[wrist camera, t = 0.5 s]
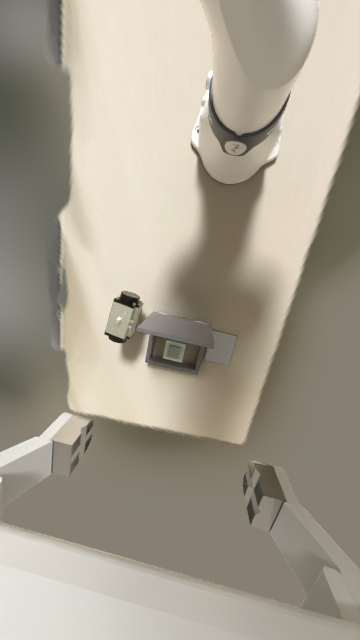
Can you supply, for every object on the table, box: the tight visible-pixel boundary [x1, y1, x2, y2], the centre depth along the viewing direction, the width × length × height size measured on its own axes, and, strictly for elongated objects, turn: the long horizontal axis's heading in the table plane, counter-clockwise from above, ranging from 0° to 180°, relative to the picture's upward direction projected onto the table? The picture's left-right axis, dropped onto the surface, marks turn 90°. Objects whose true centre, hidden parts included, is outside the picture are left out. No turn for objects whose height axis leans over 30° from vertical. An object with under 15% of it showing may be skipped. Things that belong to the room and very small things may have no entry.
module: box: [163, 338, 186, 363], centre depth 51 cm, size 5×5×8 cm
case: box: [136, 312, 215, 375], centre depth 46 cm, size 15×15×17 cm
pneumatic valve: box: [105, 291, 143, 343], centre depth 48 cm, size 6×12×12 cm, turn 159°
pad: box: [204, 330, 237, 366], centre depth 54 cm, size 9×7×1 cm
